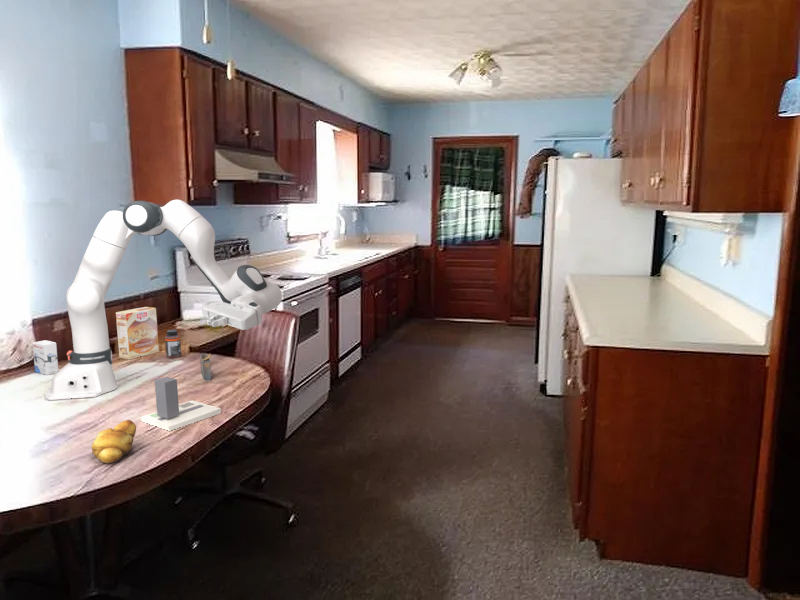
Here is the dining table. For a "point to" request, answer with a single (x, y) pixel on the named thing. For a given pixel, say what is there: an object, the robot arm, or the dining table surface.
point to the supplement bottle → (172, 344)
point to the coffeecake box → (137, 332)
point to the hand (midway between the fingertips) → (210, 324)
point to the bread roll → (114, 442)
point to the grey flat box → (205, 366)
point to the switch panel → (182, 415)
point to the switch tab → (167, 397)
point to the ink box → (45, 357)
